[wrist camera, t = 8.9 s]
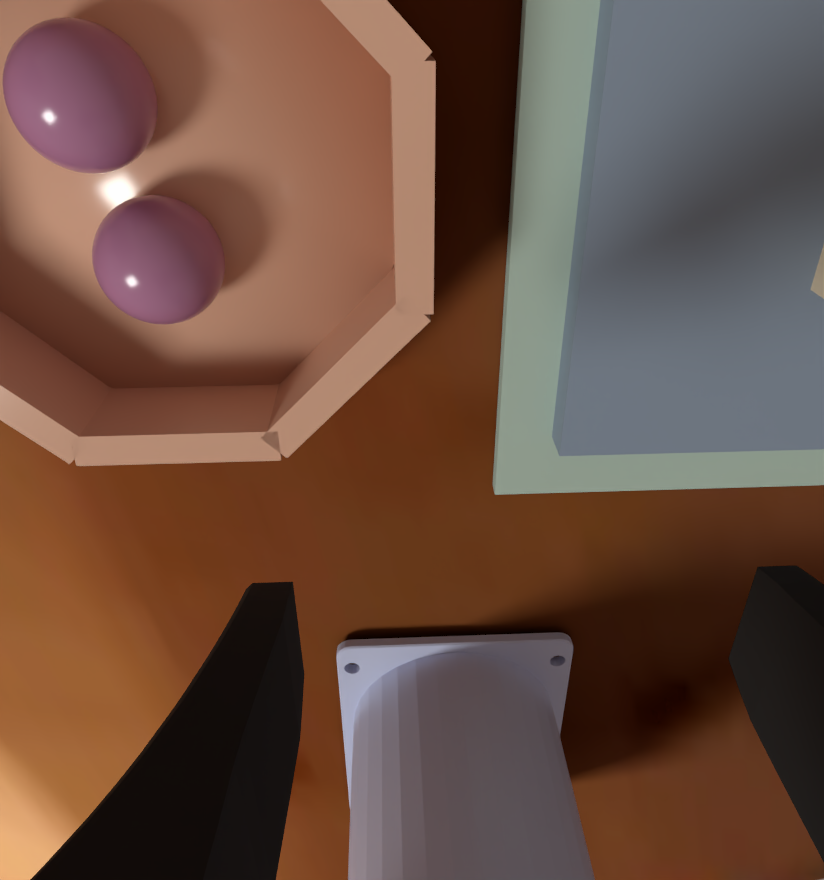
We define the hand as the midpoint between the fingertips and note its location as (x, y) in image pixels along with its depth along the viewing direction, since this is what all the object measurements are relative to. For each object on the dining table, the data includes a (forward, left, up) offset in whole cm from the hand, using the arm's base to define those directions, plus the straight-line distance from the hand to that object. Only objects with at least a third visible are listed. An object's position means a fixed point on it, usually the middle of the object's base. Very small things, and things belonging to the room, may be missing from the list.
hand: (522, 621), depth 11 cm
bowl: (+5, +7, -9) cm, 13 cm away
